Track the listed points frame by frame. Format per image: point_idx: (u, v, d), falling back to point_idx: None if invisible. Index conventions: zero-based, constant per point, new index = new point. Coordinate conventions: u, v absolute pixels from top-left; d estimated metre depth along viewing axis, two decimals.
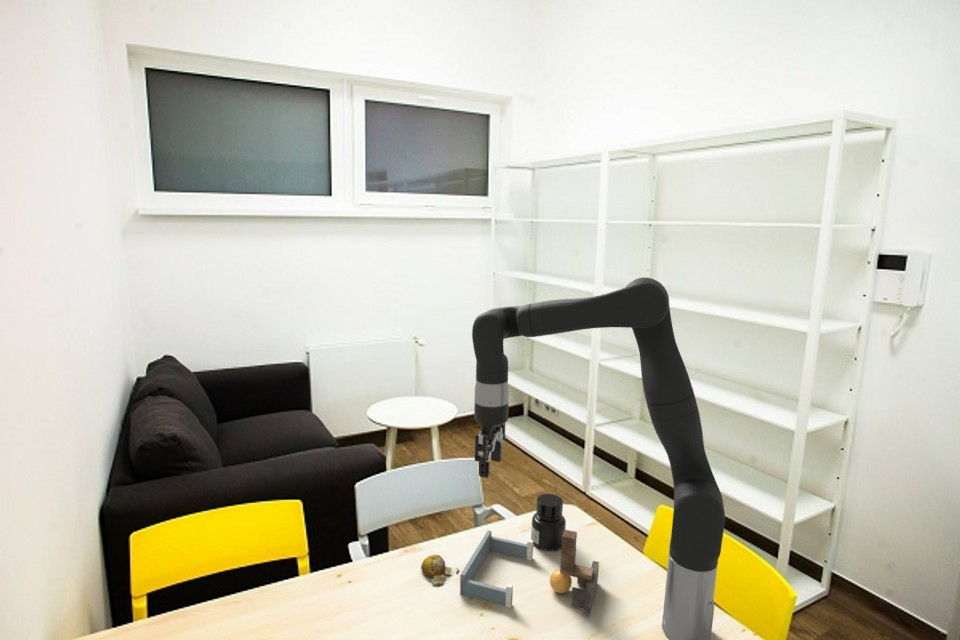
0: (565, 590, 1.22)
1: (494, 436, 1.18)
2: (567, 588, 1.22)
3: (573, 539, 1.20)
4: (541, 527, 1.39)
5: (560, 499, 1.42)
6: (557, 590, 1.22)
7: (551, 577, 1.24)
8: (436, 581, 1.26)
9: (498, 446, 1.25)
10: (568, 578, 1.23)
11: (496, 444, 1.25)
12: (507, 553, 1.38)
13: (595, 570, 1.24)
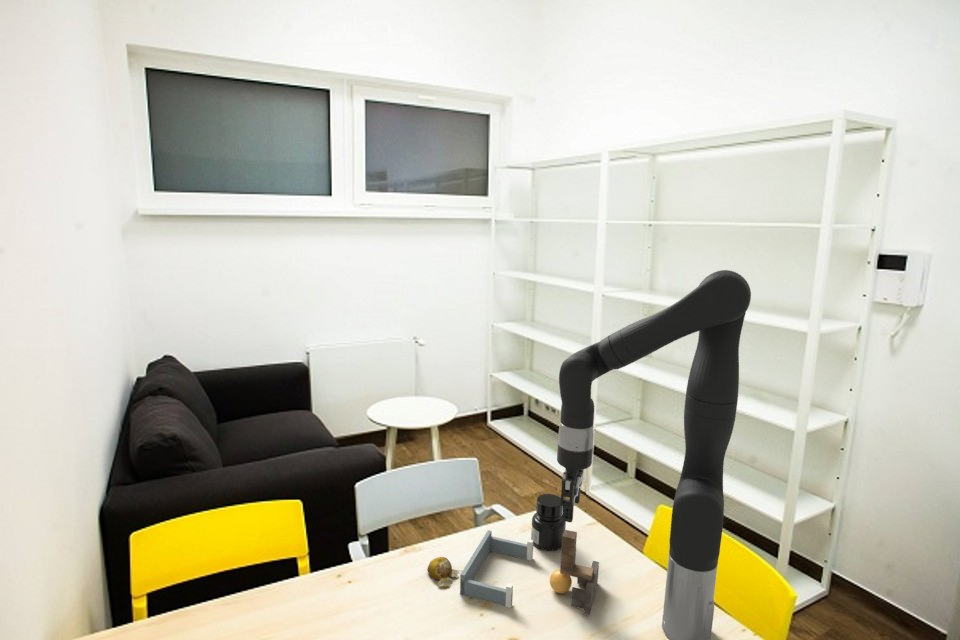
0: (565, 590, 1.22)
1: (578, 480, 1.16)
2: (567, 588, 1.22)
3: (573, 539, 1.20)
4: (541, 527, 1.39)
5: (560, 499, 1.42)
6: (557, 590, 1.22)
7: (551, 577, 1.24)
8: (442, 584, 1.26)
9: None
10: (568, 578, 1.23)
11: None
12: (507, 553, 1.38)
13: (595, 570, 1.24)
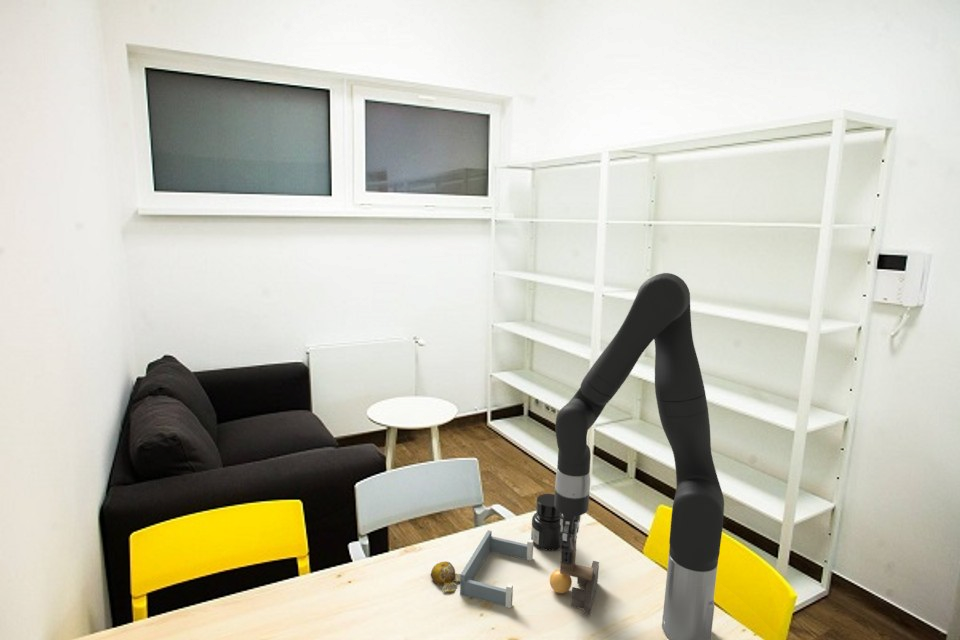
0: (565, 590, 1.22)
1: (575, 527, 1.19)
2: (567, 588, 1.22)
3: None
4: (541, 527, 1.39)
5: None
6: (557, 590, 1.22)
7: (551, 577, 1.24)
8: (447, 589, 1.24)
9: None
10: (568, 578, 1.23)
11: None
12: (507, 553, 1.38)
13: (595, 570, 1.24)
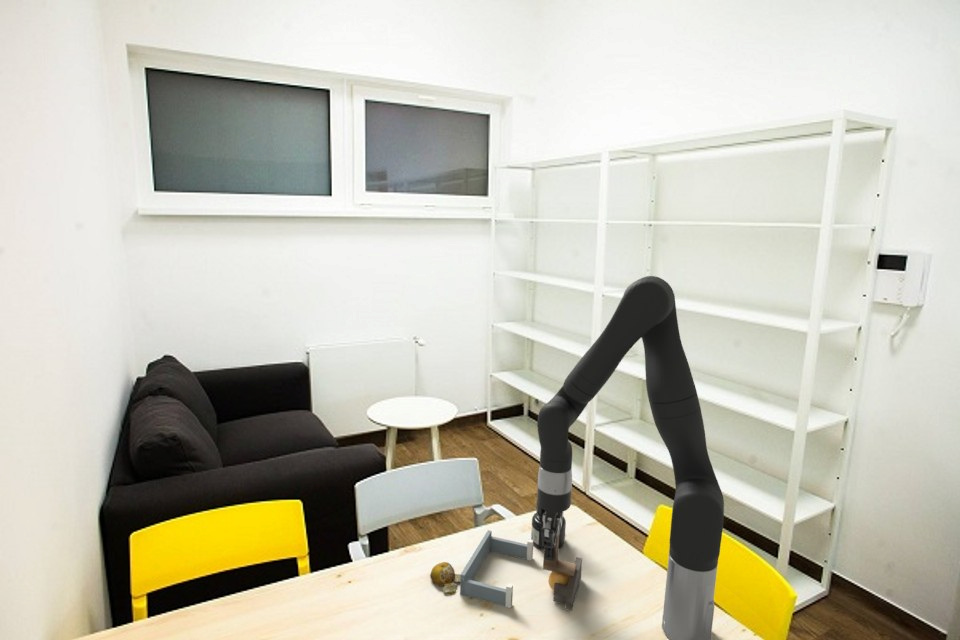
0: None
1: (557, 523, 1.20)
2: None
3: None
4: (541, 527, 1.39)
5: None
6: None
7: (549, 578, 1.24)
8: (447, 589, 1.24)
9: None
10: (566, 577, 1.23)
11: None
12: (507, 553, 1.38)
13: (578, 566, 1.25)
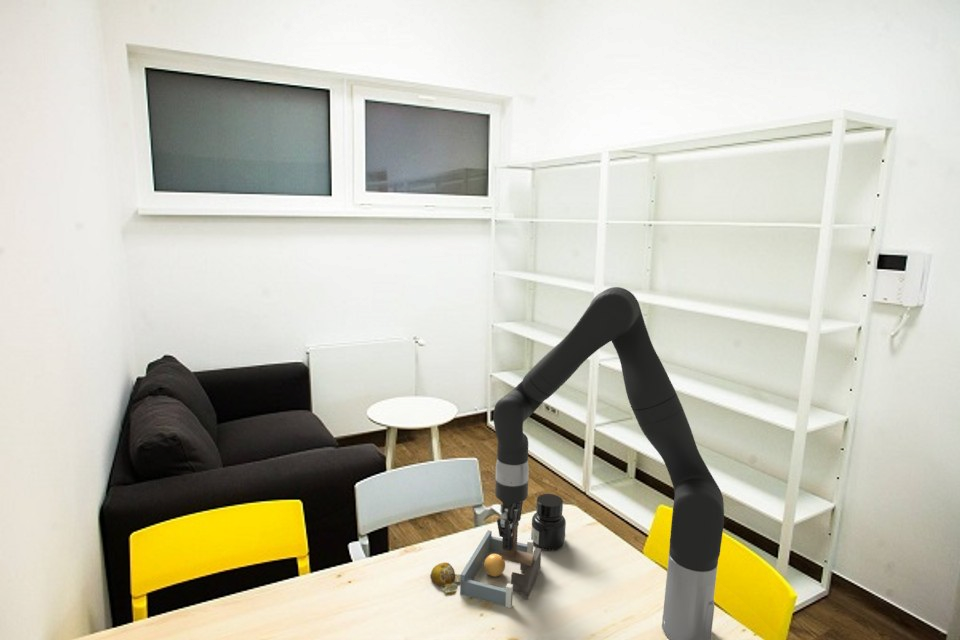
0: (498, 573, 1.27)
1: (514, 514, 1.23)
2: (500, 571, 1.28)
3: None
4: (541, 527, 1.39)
5: (560, 499, 1.42)
6: (490, 573, 1.28)
7: (485, 561, 1.29)
8: (448, 590, 1.24)
9: None
10: (501, 562, 1.28)
11: None
12: None
13: (536, 556, 1.28)
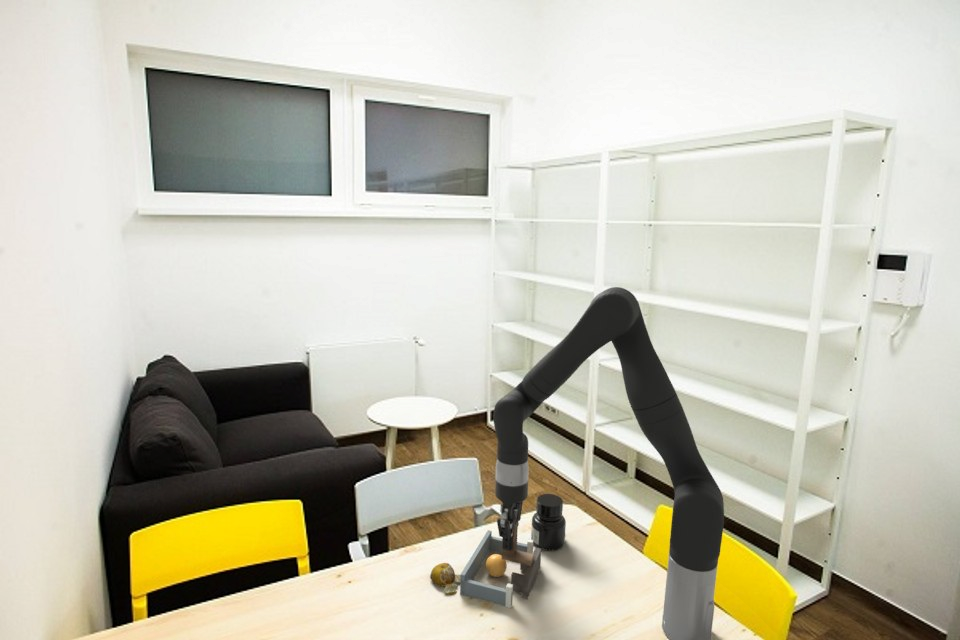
0: (499, 574, 1.27)
1: (514, 514, 1.23)
2: (501, 573, 1.27)
3: None
4: (541, 527, 1.39)
5: (560, 499, 1.42)
6: (491, 573, 1.28)
7: (487, 560, 1.29)
8: (448, 590, 1.23)
9: None
10: (503, 564, 1.28)
11: None
12: None
13: (536, 556, 1.28)
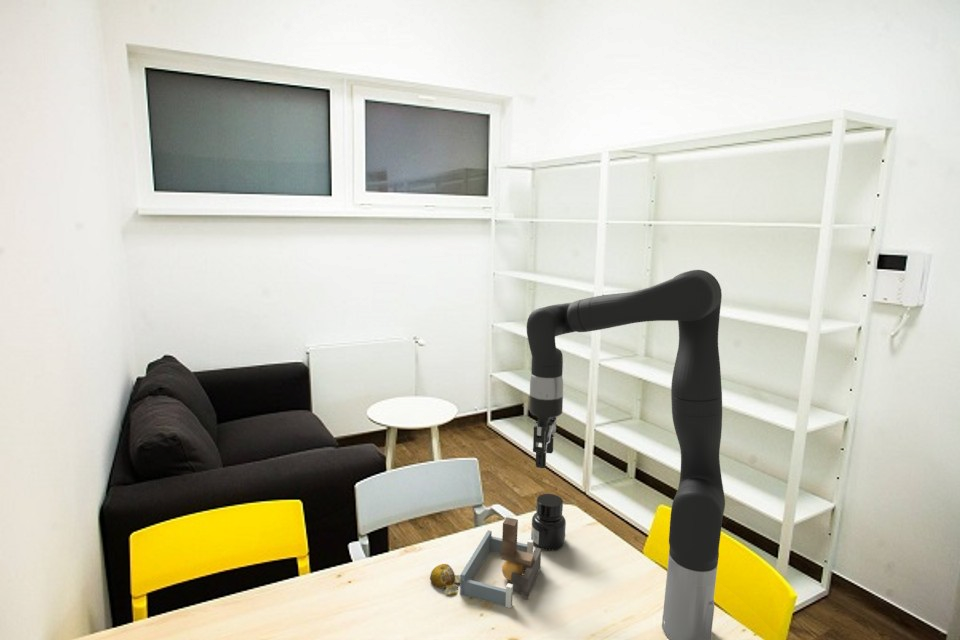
0: (506, 578, 1.27)
1: (550, 428, 1.23)
2: (507, 579, 1.27)
3: (513, 526, 1.25)
4: (541, 527, 1.39)
5: (560, 499, 1.42)
6: (506, 573, 1.26)
7: (517, 566, 1.26)
8: (449, 591, 1.23)
9: (550, 438, 1.30)
10: None
11: None
12: None
13: (536, 556, 1.28)
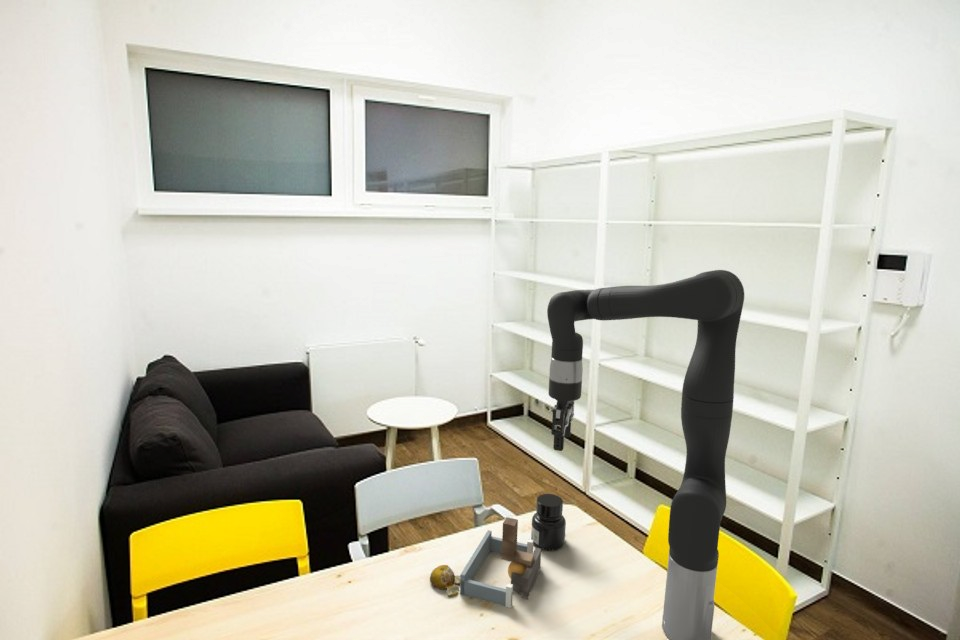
0: (509, 576, 1.27)
1: (568, 411, 1.24)
2: (510, 577, 1.27)
3: (513, 526, 1.25)
4: (541, 527, 1.39)
5: (560, 499, 1.42)
6: None
7: None
8: (450, 592, 1.23)
9: (568, 422, 1.31)
10: None
11: None
12: None
13: (536, 556, 1.28)
